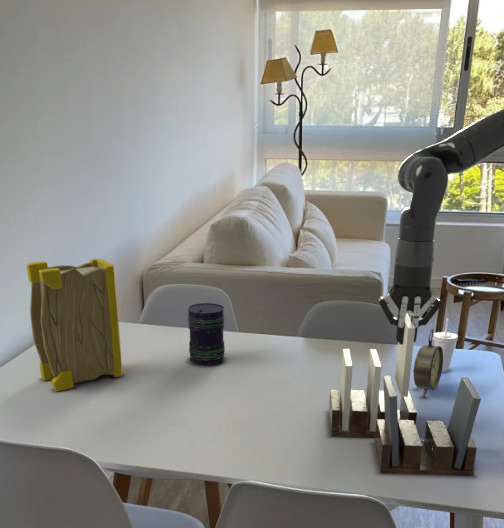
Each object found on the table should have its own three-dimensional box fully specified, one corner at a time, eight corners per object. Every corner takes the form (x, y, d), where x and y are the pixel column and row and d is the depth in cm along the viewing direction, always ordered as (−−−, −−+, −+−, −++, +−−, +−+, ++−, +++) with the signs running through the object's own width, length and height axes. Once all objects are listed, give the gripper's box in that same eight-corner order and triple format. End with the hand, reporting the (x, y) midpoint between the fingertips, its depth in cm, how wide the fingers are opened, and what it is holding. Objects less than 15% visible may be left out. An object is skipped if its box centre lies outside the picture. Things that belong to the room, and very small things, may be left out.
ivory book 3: (400, 377, 159) (407, 313, 153) (407, 396, 149) (415, 328, 143) (394, 377, 159) (401, 313, 153) (401, 396, 149) (408, 328, 143)
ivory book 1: (345, 410, 164) (349, 348, 157) (348, 430, 154) (352, 365, 147) (339, 410, 164) (342, 348, 157) (341, 430, 154) (345, 365, 147)
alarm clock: (428, 400, 171) (436, 336, 164) (407, 396, 174) (413, 333, 167) (441, 386, 180) (449, 324, 173) (420, 382, 182) (427, 321, 175)
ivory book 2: (371, 411, 163) (376, 349, 157) (375, 431, 153) (381, 366, 147) (365, 411, 163) (370, 349, 157) (369, 431, 153) (374, 366, 147)
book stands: (445, 415, 164) (448, 391, 161) (473, 476, 138) (477, 448, 135) (328, 412, 165) (330, 388, 162) (334, 471, 139) (336, 444, 136)
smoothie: (453, 366, 193) (459, 316, 187) (453, 374, 187) (460, 323, 181) (429, 364, 194) (435, 315, 188) (429, 372, 189) (435, 321, 183)
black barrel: (200, 352, 203) (198, 301, 196) (230, 357, 199) (230, 305, 193) (183, 363, 195) (180, 310, 188) (214, 368, 191) (213, 314, 184)
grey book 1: (392, 441, 149) (390, 375, 142) (399, 466, 139) (397, 396, 132) (385, 442, 149) (383, 375, 142) (392, 466, 139) (389, 396, 132)
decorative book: (109, 364, 193) (99, 253, 180) (126, 376, 185) (117, 261, 172) (37, 379, 183) (21, 263, 170) (52, 393, 175) (36, 272, 162)
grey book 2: (450, 443, 148) (468, 377, 141) (461, 469, 138) (481, 399, 132) (443, 443, 148) (461, 376, 141) (453, 468, 138) (473, 398, 132)
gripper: (444, 258, 146) (434, 338, 153) (378, 257, 146) (371, 337, 154) (451, 266, 139) (441, 350, 146) (381, 265, 139) (374, 348, 147)
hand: (405, 343), depth 150 cm, fingers closed on ivory book 3, 1 cm apart
